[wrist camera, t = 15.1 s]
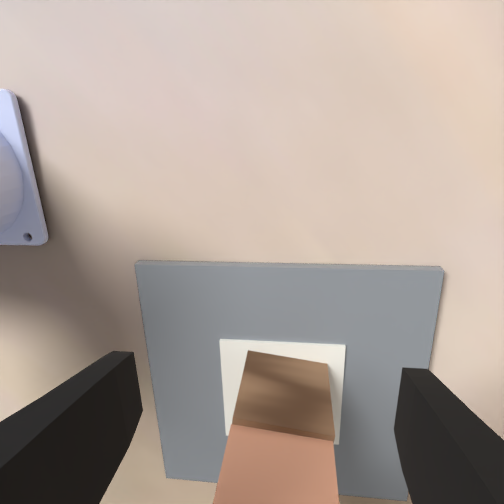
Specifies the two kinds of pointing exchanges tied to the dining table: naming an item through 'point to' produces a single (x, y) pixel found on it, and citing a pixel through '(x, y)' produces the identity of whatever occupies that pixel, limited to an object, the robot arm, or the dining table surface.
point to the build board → (286, 353)
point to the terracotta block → (276, 469)
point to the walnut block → (285, 396)
